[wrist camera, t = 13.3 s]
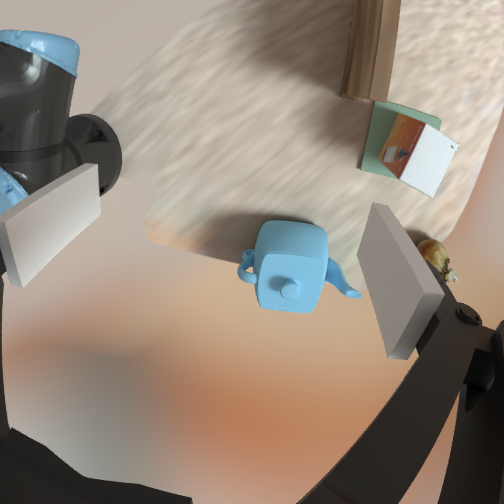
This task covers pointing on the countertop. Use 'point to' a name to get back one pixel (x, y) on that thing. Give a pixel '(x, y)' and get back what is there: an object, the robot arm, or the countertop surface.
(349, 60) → the screen
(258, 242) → the teapot
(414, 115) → the mat
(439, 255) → the onion
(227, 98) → the countertop surface
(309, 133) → the countertop surface
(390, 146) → the small box
